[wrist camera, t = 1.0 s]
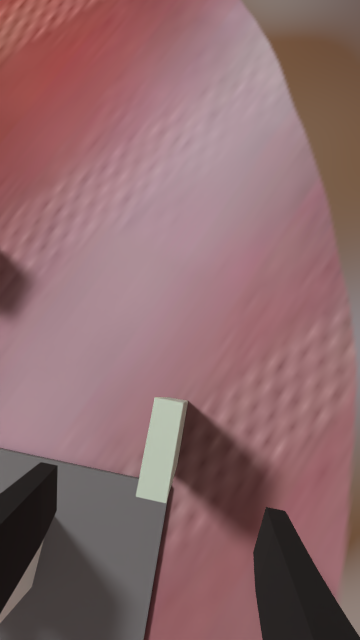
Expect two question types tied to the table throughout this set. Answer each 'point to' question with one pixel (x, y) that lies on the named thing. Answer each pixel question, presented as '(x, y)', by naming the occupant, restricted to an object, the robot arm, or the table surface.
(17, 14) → the table surface
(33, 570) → the domino
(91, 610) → the charcoal mat
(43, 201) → the table surface
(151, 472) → the domino
